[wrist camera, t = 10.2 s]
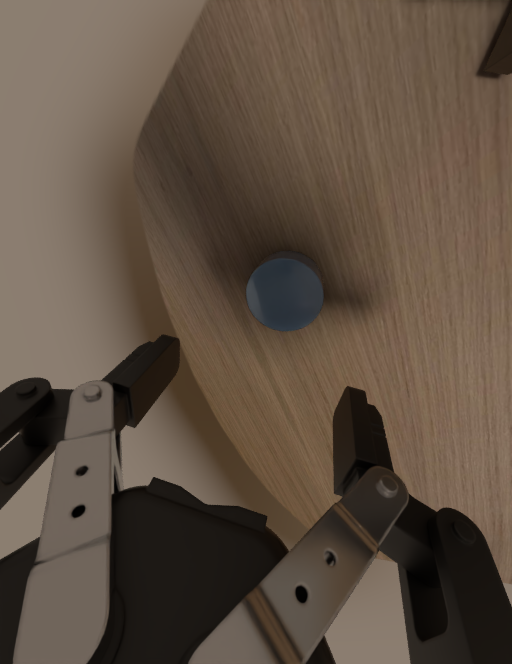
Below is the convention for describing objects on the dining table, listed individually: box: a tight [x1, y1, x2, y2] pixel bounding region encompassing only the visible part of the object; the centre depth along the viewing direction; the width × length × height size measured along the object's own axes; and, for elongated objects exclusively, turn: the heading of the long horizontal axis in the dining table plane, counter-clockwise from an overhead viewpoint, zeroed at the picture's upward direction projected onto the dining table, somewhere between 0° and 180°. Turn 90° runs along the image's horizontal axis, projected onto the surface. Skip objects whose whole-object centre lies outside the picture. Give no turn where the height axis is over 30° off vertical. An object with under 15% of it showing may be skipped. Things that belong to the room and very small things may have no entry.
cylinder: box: [246, 251, 324, 331], centre depth 21 cm, size 6×6×2 cm
